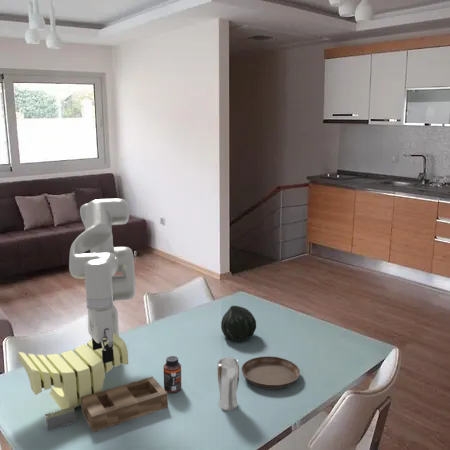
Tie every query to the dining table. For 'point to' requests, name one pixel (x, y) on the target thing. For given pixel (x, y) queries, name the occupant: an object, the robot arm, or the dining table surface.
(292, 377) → the plant saucer
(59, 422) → the grey stone block
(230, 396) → the beer glass
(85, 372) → the slatted curved stool
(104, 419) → the socket block
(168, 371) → the supplement bottle
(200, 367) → the dining table surface
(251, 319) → the squash
